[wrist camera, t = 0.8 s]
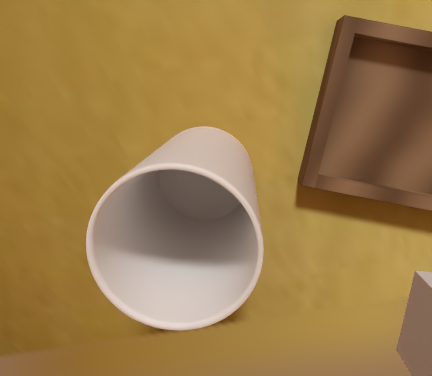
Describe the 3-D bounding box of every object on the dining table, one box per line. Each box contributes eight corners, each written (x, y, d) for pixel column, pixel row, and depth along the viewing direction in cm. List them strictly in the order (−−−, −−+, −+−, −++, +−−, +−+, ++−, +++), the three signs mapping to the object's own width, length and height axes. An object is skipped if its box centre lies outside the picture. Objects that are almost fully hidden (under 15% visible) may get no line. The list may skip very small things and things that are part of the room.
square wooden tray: (297, 178, 33) (302, 185, 31) (337, 20, 30) (344, 15, 28) (445, 207, 33) (460, 216, 31) (500, 51, 30) (521, 48, 27)
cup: (147, 207, 34) (71, 306, 19) (168, 114, 32) (102, 142, 17) (238, 231, 35) (236, 350, 19) (265, 141, 32) (287, 192, 17)
